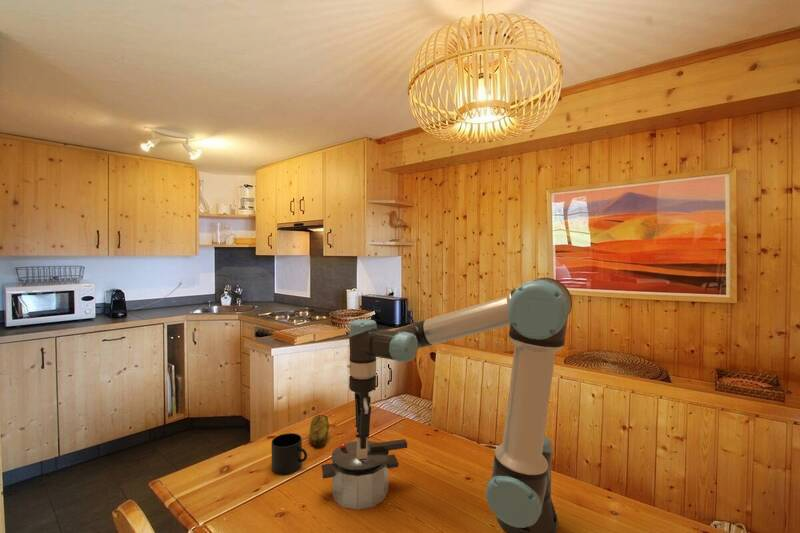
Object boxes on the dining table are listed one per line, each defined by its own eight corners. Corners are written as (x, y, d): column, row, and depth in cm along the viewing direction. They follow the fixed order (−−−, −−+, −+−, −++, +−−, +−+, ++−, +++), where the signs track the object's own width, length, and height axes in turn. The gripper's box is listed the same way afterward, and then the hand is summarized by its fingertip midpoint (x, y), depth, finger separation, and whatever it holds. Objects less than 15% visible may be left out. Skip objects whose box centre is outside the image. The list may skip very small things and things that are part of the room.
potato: (301, 448, 135) (301, 426, 135) (314, 431, 148) (314, 411, 148) (323, 449, 134) (323, 427, 134) (335, 432, 147) (334, 412, 147)
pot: (403, 501, 106) (403, 469, 106) (324, 515, 101) (324, 481, 100) (388, 467, 123) (388, 439, 123) (320, 478, 117) (320, 448, 117)
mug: (299, 478, 117) (299, 450, 117) (265, 472, 120) (265, 444, 120) (313, 462, 126) (313, 436, 126) (282, 457, 129) (282, 431, 129)
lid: (414, 461, 106) (414, 452, 106) (334, 473, 100) (334, 463, 100) (398, 438, 123) (398, 430, 123) (329, 447, 117) (329, 439, 117)
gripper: (346, 368, 111) (345, 447, 112) (352, 384, 99) (352, 472, 99) (371, 367, 113) (370, 444, 114) (380, 381, 101) (380, 468, 101)
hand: (362, 457), depth 107 cm, fingers closed
